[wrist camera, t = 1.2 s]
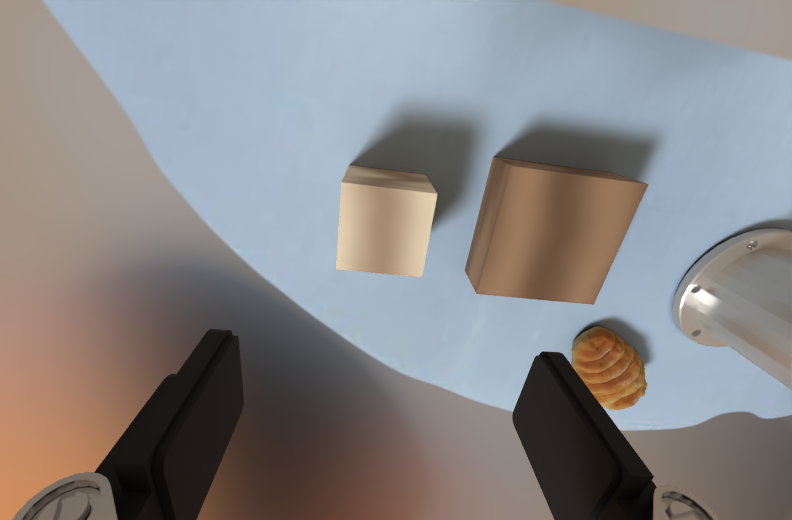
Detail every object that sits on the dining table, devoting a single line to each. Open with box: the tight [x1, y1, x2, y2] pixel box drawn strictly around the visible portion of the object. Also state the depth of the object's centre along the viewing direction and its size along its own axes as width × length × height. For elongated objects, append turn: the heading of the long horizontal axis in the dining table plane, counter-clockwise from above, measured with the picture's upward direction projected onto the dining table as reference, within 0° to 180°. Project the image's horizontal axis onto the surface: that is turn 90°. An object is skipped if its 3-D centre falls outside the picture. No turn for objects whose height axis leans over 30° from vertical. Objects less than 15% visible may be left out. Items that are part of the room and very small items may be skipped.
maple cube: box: [336, 165, 438, 277], centre depth 25 cm, size 6×6×6 cm
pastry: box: [571, 326, 647, 410], centre depth 34 cm, size 9×7×4 cm
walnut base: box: [465, 157, 648, 305], centre depth 27 cm, size 10×10×4 cm
